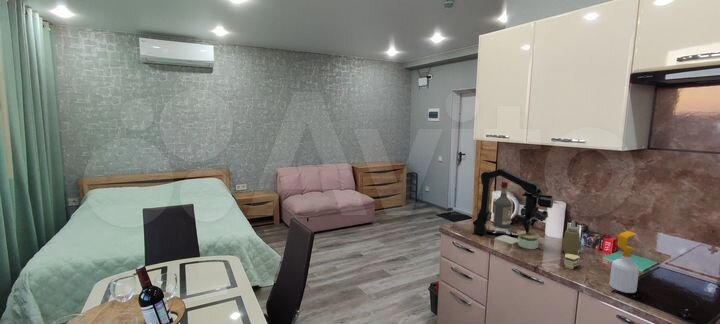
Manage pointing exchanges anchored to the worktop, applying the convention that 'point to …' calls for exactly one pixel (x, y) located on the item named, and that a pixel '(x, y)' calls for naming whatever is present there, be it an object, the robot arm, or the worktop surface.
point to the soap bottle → (624, 267)
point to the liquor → (502, 209)
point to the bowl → (527, 242)
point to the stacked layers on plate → (571, 260)
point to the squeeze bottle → (571, 239)
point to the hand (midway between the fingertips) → (528, 231)
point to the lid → (529, 234)
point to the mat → (507, 239)
